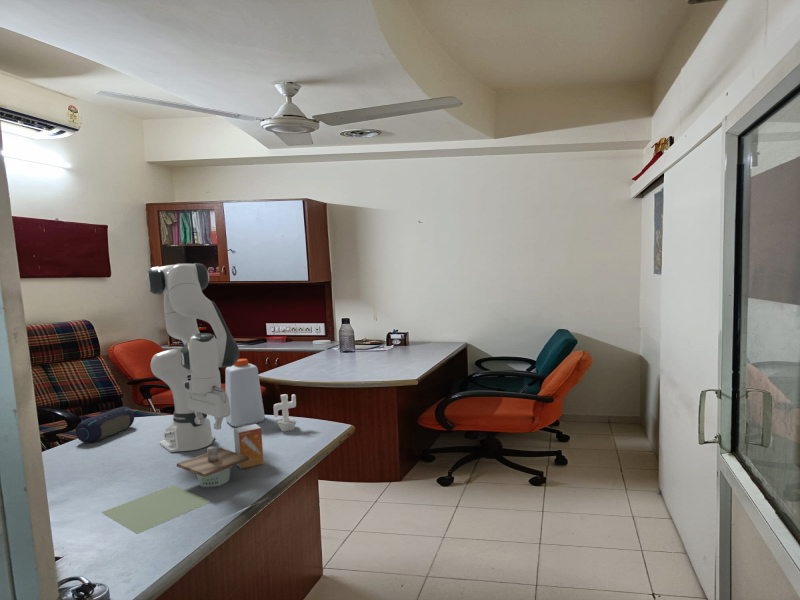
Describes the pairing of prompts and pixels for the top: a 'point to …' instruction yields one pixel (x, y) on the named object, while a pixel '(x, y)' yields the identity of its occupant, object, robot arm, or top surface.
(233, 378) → the plastic bottle
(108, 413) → the portable speaker
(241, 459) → the walnut lid
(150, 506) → the olive mat
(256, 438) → the small box
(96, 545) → the top surface
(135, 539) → the top surface
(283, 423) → the figurine
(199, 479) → the food container
